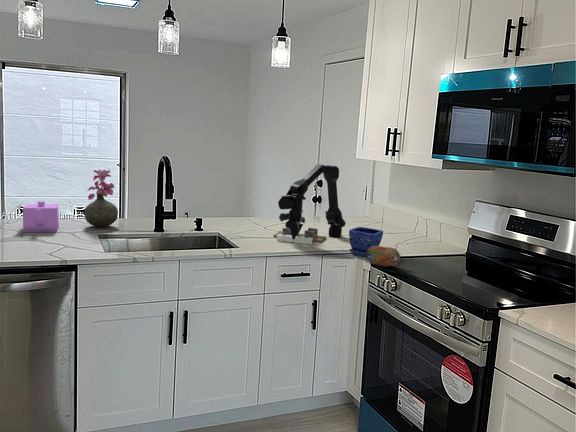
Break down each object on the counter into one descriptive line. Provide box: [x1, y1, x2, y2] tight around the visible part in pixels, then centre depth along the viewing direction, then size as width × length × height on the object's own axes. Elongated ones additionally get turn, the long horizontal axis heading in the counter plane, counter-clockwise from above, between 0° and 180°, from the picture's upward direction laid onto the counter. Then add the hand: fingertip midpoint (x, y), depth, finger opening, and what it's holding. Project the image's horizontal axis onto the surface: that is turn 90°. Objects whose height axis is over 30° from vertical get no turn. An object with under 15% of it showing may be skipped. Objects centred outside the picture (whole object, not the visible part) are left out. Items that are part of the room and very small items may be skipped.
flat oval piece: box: [365, 245, 401, 268], centre depth 240 cm, size 15×3×8 cm, turn 62°
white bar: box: [276, 234, 313, 245], centre depth 276 cm, size 18×4×3 cm, turn 77°
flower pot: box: [348, 226, 384, 257], centre depth 258 cm, size 13×13×12 cm
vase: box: [84, 169, 119, 229], centre depth 281 cm, size 17×17×30 cm
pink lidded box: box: [22, 200, 60, 233], centre depth 267 cm, size 15×25×14 cm, turn 20°
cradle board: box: [272, 227, 327, 243], centre depth 288 cm, size 26×12×5 cm, turn 76°
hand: (294, 238), depth 276 cm, fingers closed on white bar, 4 cm apart
